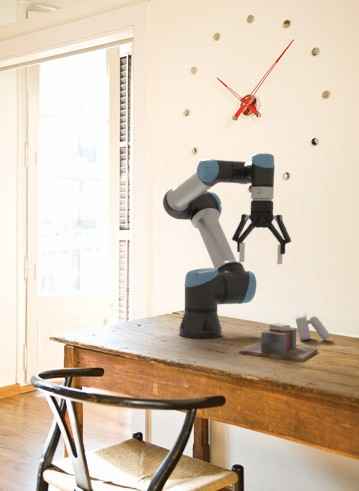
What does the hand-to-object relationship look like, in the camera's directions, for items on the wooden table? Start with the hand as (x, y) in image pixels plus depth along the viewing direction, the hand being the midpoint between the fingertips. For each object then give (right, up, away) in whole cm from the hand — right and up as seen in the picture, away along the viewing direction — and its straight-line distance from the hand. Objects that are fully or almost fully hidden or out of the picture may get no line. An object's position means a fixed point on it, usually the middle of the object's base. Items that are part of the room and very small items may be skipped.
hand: (260, 263), depth 215 cm
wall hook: (+19, -27, +6) cm, 33 cm away
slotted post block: (+4, -28, -17) cm, 32 cm away
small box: (+4, -27, -17) cm, 32 cm away
